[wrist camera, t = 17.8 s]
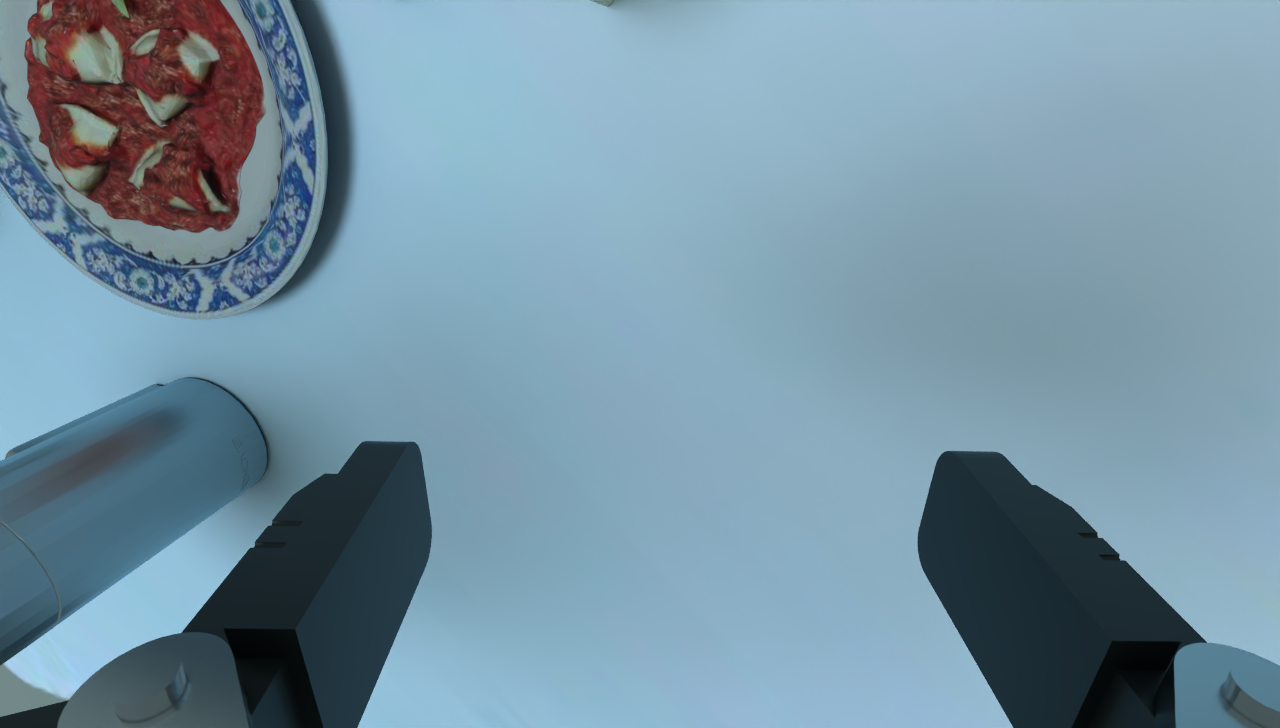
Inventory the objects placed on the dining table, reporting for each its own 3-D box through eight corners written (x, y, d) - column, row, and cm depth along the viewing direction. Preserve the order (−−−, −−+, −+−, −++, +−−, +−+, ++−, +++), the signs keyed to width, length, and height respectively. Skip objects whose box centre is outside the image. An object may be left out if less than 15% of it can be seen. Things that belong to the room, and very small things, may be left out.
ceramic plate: (325, 370, 41) (292, 390, 39) (-2, 215, 43) (-55, 223, 41) (385, -79, 29) (342, -95, 27) (-69, -266, 31) (-150, -298, 29)
